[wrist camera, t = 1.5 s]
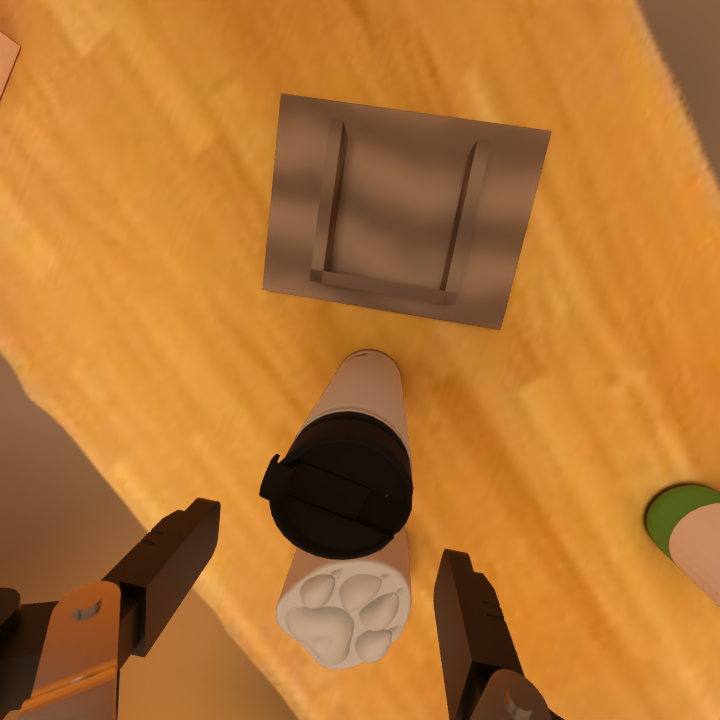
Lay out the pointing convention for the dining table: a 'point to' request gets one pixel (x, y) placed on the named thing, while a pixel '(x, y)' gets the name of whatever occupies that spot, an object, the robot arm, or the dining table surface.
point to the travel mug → (347, 465)
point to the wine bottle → (690, 533)
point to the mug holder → (400, 209)
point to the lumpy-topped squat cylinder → (347, 604)
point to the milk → (6, 59)
